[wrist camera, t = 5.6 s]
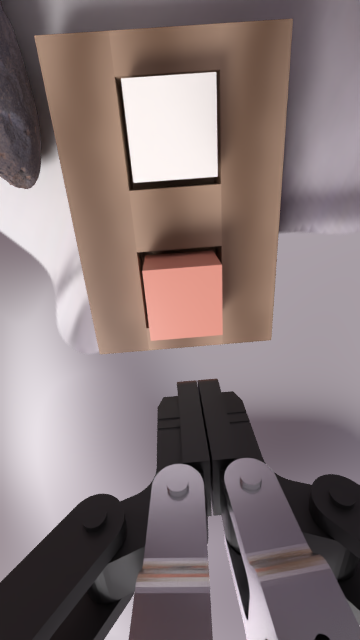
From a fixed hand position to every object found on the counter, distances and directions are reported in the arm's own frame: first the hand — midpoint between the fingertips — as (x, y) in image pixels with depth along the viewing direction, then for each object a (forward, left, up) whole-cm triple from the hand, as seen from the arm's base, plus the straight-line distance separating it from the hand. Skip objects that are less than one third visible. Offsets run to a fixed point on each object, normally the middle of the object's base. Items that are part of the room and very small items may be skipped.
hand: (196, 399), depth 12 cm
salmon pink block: (0, 0, -14) cm, 14 cm away
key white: (0, -10, -15) cm, 18 cm away
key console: (0, -5, -17) cm, 17 cm away
